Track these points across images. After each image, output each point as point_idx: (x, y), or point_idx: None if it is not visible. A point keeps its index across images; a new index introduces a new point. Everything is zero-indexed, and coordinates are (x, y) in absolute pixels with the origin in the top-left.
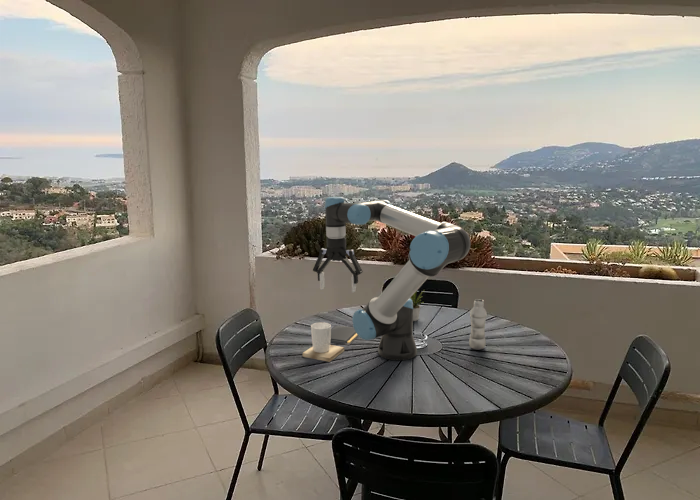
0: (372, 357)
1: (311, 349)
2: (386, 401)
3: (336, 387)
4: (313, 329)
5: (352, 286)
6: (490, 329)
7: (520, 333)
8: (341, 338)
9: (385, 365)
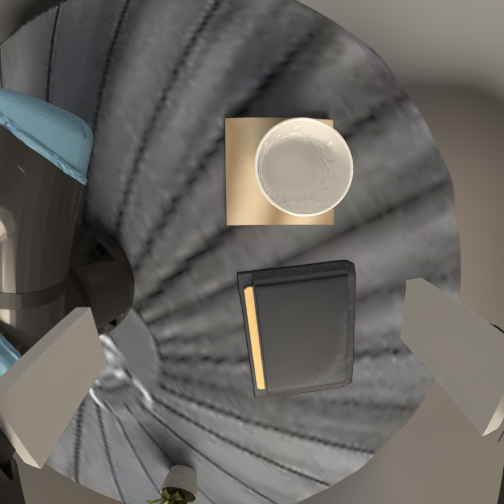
0: (125, 217)
1: None
2: (32, 42)
3: (136, 15)
4: (317, 121)
5: (56, 333)
6: None
7: None
8: (279, 297)
9: None
